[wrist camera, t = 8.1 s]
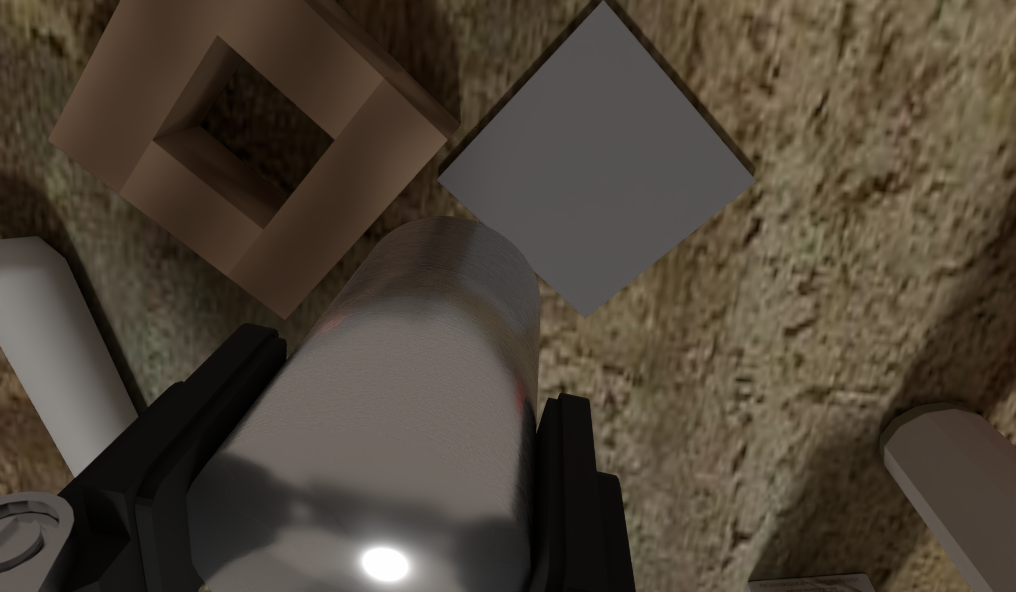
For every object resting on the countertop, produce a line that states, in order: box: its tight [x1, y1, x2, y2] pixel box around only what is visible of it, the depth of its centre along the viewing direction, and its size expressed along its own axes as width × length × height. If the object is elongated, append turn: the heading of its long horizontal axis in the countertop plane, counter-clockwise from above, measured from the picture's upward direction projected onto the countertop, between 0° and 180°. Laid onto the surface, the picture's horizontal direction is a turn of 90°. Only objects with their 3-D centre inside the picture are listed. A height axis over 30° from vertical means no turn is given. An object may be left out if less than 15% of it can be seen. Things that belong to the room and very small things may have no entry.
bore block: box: [48, 0, 461, 320], centre depth 27 cm, size 14×14×4 cm
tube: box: [0, 236, 138, 477], centre depth 37 cm, size 5×5×25 cm
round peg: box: [186, 216, 541, 592], centre depth 11 cm, size 5×5×8 cm
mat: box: [437, 0, 756, 318], centre depth 29 cm, size 12×12×1 cm
